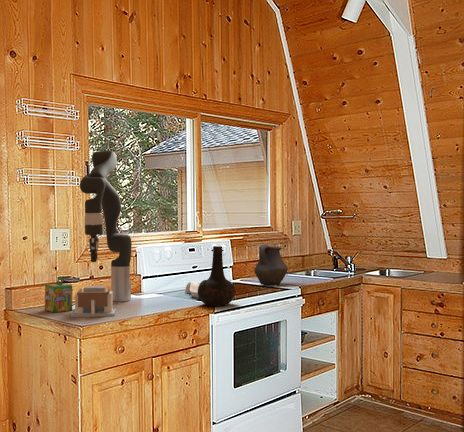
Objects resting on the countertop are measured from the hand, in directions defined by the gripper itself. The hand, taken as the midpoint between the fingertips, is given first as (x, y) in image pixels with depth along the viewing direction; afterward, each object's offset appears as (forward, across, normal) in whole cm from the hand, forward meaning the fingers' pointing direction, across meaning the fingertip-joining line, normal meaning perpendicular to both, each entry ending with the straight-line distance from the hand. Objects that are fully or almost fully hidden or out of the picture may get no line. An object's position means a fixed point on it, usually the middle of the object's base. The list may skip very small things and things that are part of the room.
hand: (94, 261), depth 244 cm
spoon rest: (+25, -46, +50) cm, 72 cm away
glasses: (+19, 0, 0) cm, 19 cm away
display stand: (+23, 0, 0) cm, 23 cm away
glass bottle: (+24, -14, +55) cm, 62 cm away
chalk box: (+23, -12, -17) cm, 31 cm away
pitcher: (+27, -82, +99) cm, 131 cm away
